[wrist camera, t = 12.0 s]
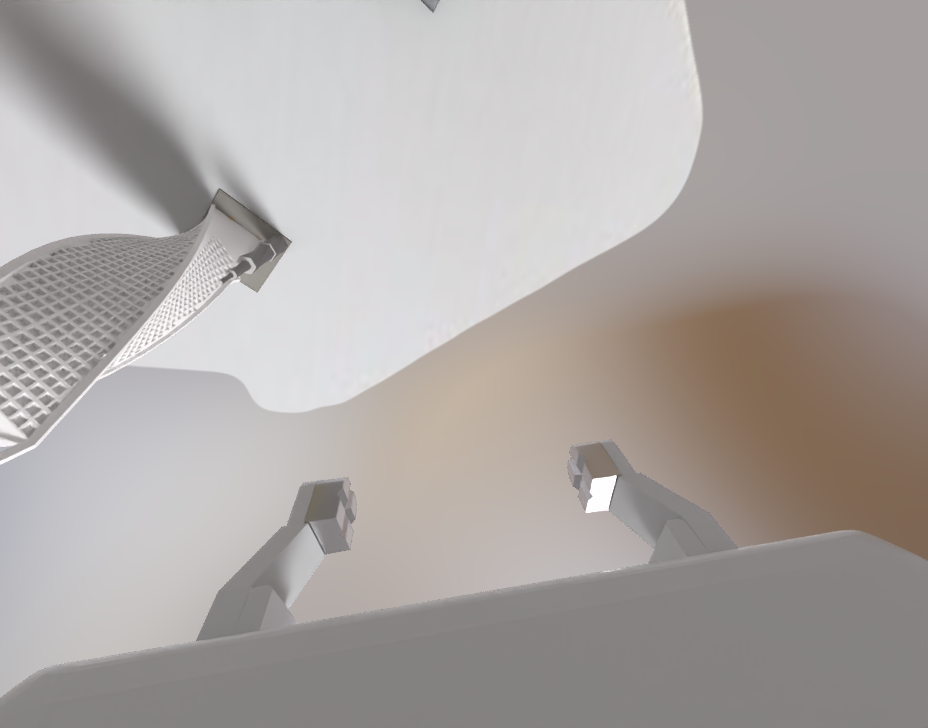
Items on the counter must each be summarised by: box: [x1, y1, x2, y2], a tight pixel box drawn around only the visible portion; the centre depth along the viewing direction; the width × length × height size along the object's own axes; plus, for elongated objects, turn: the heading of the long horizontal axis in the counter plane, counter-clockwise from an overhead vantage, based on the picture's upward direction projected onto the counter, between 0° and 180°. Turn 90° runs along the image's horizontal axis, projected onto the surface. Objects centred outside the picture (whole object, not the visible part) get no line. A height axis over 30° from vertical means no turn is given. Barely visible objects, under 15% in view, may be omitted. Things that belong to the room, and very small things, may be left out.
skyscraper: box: [0, 189, 291, 464], centre depth 22 cm, size 8×8×28 cm
